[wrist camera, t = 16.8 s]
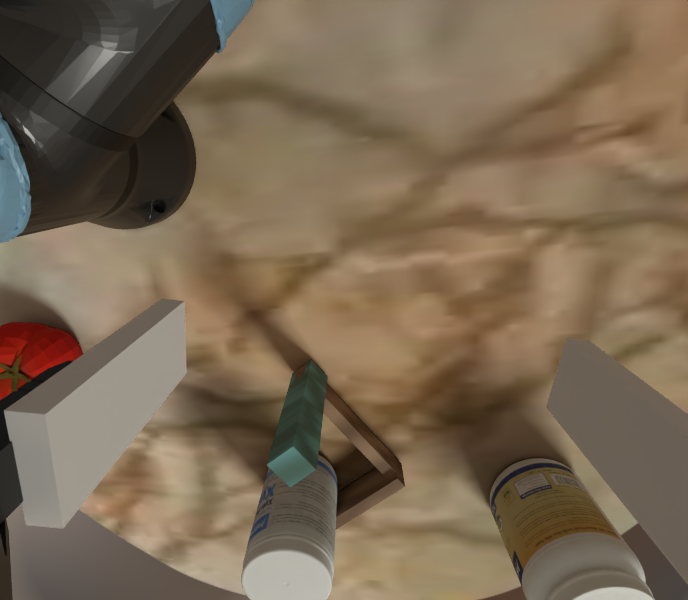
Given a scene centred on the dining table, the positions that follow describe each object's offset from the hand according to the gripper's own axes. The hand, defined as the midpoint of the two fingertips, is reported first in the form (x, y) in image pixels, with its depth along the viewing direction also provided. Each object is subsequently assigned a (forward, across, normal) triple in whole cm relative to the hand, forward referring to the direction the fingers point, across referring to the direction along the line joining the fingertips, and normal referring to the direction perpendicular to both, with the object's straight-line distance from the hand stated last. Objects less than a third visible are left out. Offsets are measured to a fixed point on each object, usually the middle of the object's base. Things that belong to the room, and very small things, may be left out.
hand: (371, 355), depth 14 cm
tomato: (+32, -36, -19) cm, 52 cm away
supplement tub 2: (+32, +27, -33) cm, 53 cm away
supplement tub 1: (+32, -4, -34) cm, 47 cm away
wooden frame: (+31, -4, -30) cm, 43 cm away
